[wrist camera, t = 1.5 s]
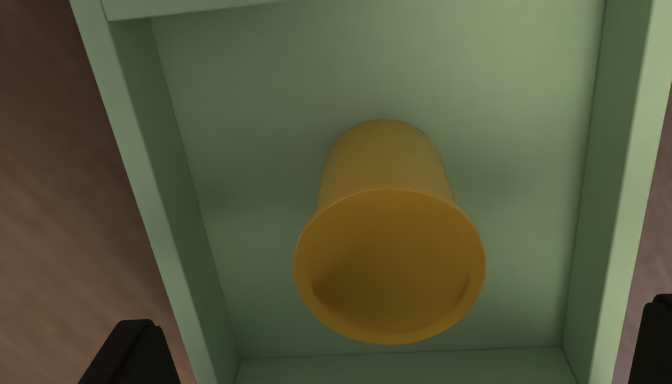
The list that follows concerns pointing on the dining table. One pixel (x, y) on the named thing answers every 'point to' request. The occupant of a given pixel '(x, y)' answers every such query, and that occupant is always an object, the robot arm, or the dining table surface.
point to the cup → (388, 240)
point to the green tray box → (404, 106)
